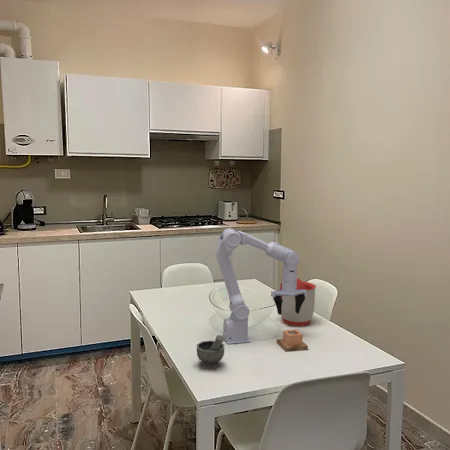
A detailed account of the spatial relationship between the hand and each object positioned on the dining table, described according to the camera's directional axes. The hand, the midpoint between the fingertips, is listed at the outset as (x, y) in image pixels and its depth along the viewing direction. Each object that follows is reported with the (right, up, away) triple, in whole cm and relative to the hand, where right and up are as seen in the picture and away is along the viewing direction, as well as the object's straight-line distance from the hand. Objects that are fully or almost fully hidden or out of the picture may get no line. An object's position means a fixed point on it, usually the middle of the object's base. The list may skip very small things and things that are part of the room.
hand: (288, 313), depth 183 cm
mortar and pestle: (-30, -13, -26) cm, 42 cm away
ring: (0, -10, -8) cm, 13 cm away
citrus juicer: (+5, -8, +19) cm, 21 cm away
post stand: (0, -11, -8) cm, 14 cm away
